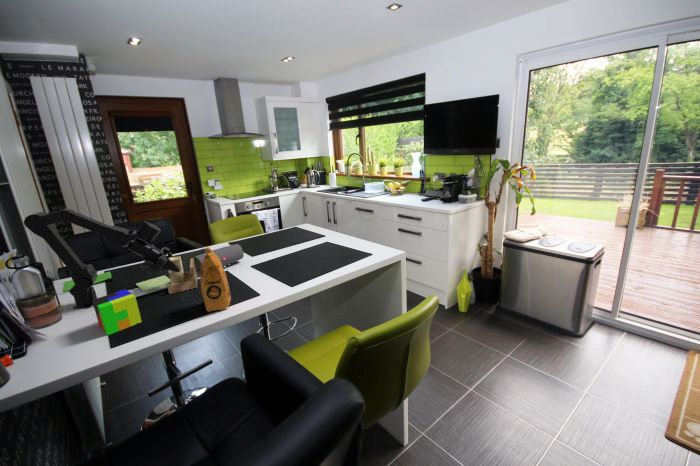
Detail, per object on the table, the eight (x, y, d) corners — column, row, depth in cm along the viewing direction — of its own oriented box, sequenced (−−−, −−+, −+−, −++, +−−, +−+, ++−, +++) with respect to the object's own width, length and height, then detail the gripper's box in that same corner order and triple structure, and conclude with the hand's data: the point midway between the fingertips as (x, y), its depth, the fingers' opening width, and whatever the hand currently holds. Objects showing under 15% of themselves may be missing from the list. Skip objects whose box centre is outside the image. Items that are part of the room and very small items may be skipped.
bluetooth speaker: (204, 277, 148) (200, 257, 146) (194, 273, 154) (190, 254, 151) (245, 262, 166) (243, 244, 163) (235, 259, 171) (232, 241, 169)
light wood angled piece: (169, 294, 133) (164, 271, 130) (171, 282, 144) (167, 262, 142) (197, 288, 137) (192, 266, 134) (197, 277, 148) (193, 257, 146)
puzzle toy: (132, 313, 118) (125, 289, 115) (141, 322, 112) (135, 296, 109) (99, 325, 110) (91, 300, 108) (107, 335, 104) (100, 308, 102)
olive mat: (143, 292, 136) (143, 290, 136) (136, 284, 144) (135, 283, 144) (173, 282, 144) (173, 281, 144) (164, 276, 152) (164, 275, 152)
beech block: (171, 285, 136) (166, 261, 133) (172, 281, 140) (167, 258, 138) (184, 283, 138) (179, 259, 135) (185, 279, 142) (180, 256, 140)
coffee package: (202, 315, 114) (191, 258, 108) (205, 300, 125) (195, 248, 119) (231, 309, 117) (222, 253, 111) (231, 295, 128) (223, 244, 122)
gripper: (135, 258, 139) (169, 276, 146) (127, 272, 122) (165, 292, 129) (152, 238, 140) (185, 257, 147) (146, 250, 123) (183, 270, 130)
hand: (179, 269), depth 138 cm, fingers closed on beech block, 5 cm apart
